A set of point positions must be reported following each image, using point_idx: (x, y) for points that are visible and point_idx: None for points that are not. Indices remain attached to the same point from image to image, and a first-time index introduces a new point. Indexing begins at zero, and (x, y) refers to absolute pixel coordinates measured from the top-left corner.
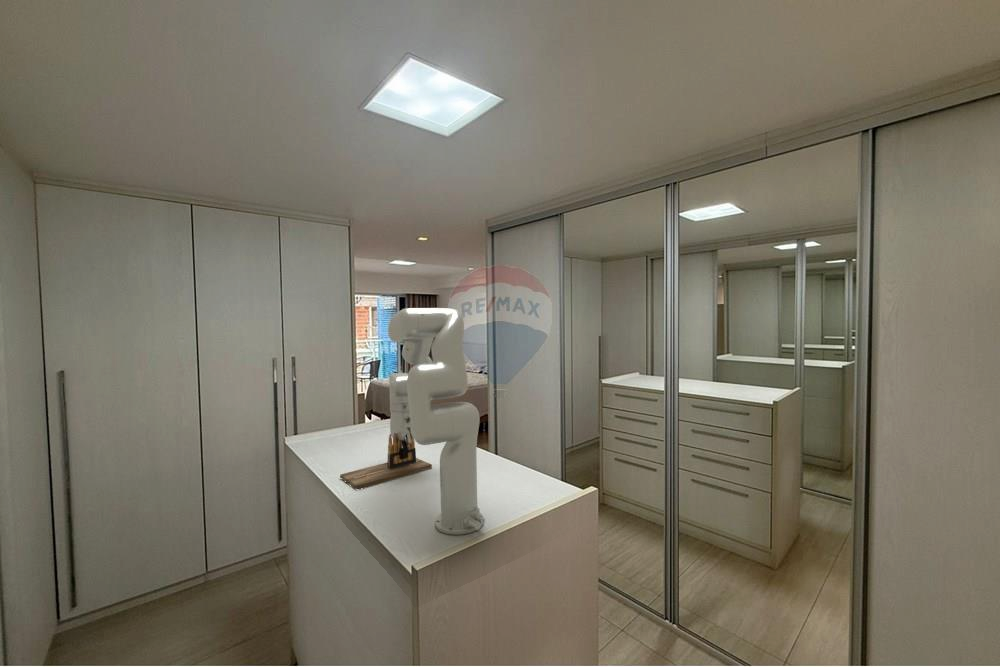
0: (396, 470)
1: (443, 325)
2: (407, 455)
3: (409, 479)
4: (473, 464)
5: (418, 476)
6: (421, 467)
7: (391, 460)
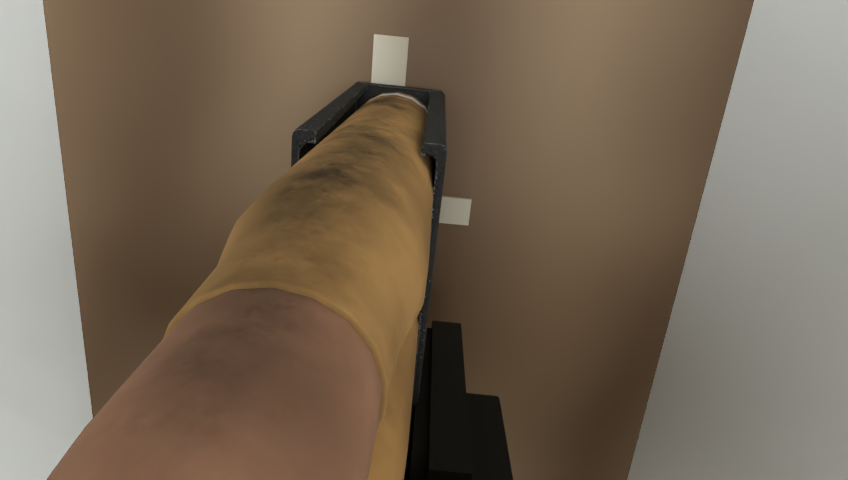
0: None
1: None
2: (462, 353)
3: (744, 419)
4: None
5: (773, 302)
6: (704, 180)
7: None
